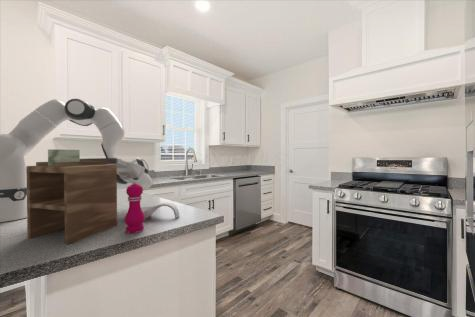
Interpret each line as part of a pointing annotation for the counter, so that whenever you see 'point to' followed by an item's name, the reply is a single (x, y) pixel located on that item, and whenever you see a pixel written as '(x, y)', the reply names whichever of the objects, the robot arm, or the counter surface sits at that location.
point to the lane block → (72, 157)
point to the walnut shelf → (71, 198)
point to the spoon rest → (151, 209)
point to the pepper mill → (134, 209)
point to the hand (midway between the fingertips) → (109, 160)
